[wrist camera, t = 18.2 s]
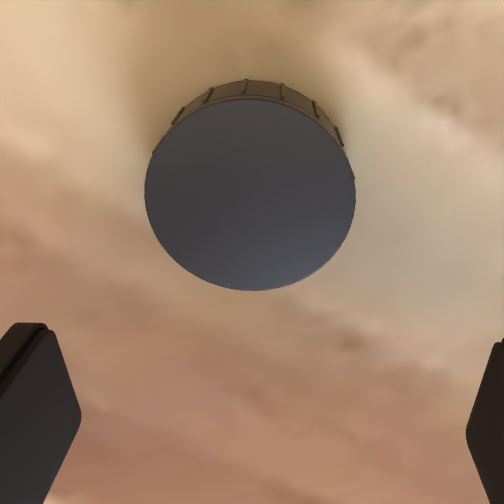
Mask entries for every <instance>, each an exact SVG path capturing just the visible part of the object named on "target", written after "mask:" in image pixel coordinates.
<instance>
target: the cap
mask: <svg viewBox="0 0 504 504" xmlns="http://www.w3.org/2000/svg"><path fill="white" fill-rule="evenodd" d="M171 124H172V125H171V127H170V128H169V130H168V131H167V133H166V134H165V135H164V136H163V138H162V139H161V140H160V142H159V143H158V145H157V146H156V148H155V149H154V151H153V153H152V154H153V155H152V157H151V160H150V163H149V166H148V169H147V172H146V179H145V194H144V198H145V205H146V211H147V215H148V218H149V222H150V224H151V226H152V229H153V231H154V233H155V235H156V237H157V239H158V240H159V242H160V244H161V245H162V246H163V248H164V249H165V250H166V251H167V253H168V254H169V255H170V256H171V257H172V258H173V259H174V260H175V261H176V262H177V263H178V264H180V265H181V266H182V267H183V268H185V269H186V270H187V271H189V272H190V273H192V274H194V275H195V276H197V277H199V278H201V279H203V280H205V281H207V282H210V283H212V284H215V285H218V286H221V287H225V288H230V289H236V290H244V291H260V290H270V289H275V288H280V287H283V286H287V285H290V284H293V283H295V282H297V281H300V280H302V279H304V278H306V277H307V276H309V275H311V274H313V273H314V272H315V271H317V270H318V269H319V268H321V267H322V266H323V265H324V264H325V263H326V262H328V261H329V260H330V259H331V258H332V256H333V255H334V254H335V253H336V252H337V250H338V249H339V248H340V246H341V244H342V243H343V241H344V240H345V238H346V236H347V233H348V231H349V229H350V226H351V223H352V220H353V216H354V210H355V203H356V191H355V184H354V180H355V177H354V174H353V172H352V169H351V166H350V164H349V161H348V158H347V156H346V153H345V151H344V148H343V146H344V144H343V141H342V139H341V136H340V134H339V131H338V129H337V127H335V128H334V126H333V125H332V123H331V121H330V120H329V118H328V117H327V116H326V115H325V114H324V113H323V111H322V110H321V109H320V108H319V107H318V106H317V105H316V102H315V101H314V100H313V102H312V101H311V100H309V99H308V98H306V97H305V96H303V95H302V94H300V93H298V92H296V91H294V90H292V89H290V88H287V87H285V86H284V84H282V83H281V85H278V84H275V83H270V82H263V81H248V79H245V80H244V81H241V82H233V83H229V84H225V85H222V86H219V87H216V88H214V89H213V87H211V88H210V89H209V90H208V91H207V92H206V93H204V94H202V95H201V96H199V97H197V98H196V99H195V100H194V101H192V102H191V103H190V104H189V105H187V107H186V108H184V107H182V109H181V110H180V111H179V113H178V114H177V116H176V117H175V118H174V120H173V121H172V123H171Z"/></svg>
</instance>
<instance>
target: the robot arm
mask: <svg viewBox="0 0 504 504" xmlns="http://www.w3.org/2000/svg"><path fill="white" fill-rule="evenodd" d="M80 423H81V410H80V407H79V404H78V401H77V398H76V395H75V392H74V389H73V386H72V383H71V380H70V377H69V374H68V371H67V368H66V365H65V362H64V359H63V356H62V353H61V350H60V347H59V344H58V341H57V338H56V335H55V333H54V332H53V331H52V330H49V329H48V327H47V326H46V325H45V324H43V323H19V322H18V323H15V324H14V325H12V326H11V327H10V329H9V330H8V331H7V332H6V333H5V335H4V336H3V337H2V338H1V340H0V504H43V502H44V500H45V498H46V496H47V494H48V492H49V490H50V488H51V486H52V483H53V481H54V479H55V477H56V475H57V473H58V471H59V469H60V467H61V465H62V462H63V460H64V458H65V456H66V454H67V452H68V450H69V448H70V446H71V444H72V442H73V439H74V437H75V435H76V433H77V431H78V429H79V426H80ZM466 440H467V444H468V447H469V450H470V452H471V455H472V458H473V460H474V463H475V465H476V468H477V471H478V473H479V476H480V478H481V481H482V484H483V486H484V489H485V491H486V494H487V497H488V499H489V502H490V504H504V338H503V340H502V342H496V343H495V344H494V346H493V348H492V351H491V354H490V357H489V360H488V363H487V366H486V369H485V372H484V375H483V378H482V381H481V384H480V388H479V391H478V394H477V397H476V400H475V403H474V406H473V409H472V412H471V415H470V418H469V421H468V424H467V427H466Z"/></svg>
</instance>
